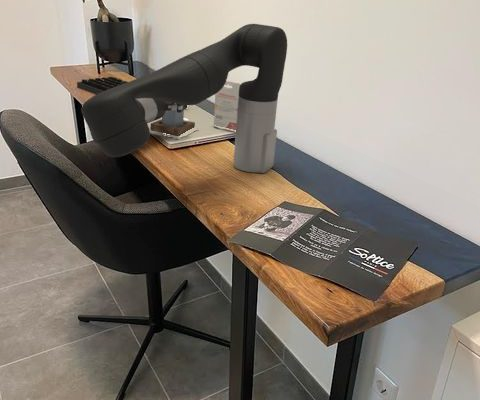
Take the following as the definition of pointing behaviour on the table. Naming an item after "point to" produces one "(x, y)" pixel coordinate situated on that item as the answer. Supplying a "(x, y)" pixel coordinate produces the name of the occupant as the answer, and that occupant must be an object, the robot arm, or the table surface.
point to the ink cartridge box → (227, 106)
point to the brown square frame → (172, 128)
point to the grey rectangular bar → (173, 118)
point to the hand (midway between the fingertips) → (178, 97)
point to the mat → (163, 134)
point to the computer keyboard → (99, 84)
